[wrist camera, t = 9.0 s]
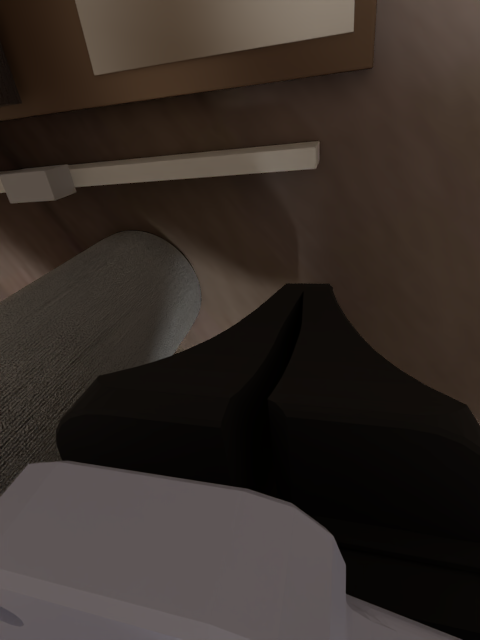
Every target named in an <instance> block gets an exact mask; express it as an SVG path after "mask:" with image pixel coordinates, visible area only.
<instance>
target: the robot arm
mask: <svg viewBox="0 0 480 640" xmlns="http://www.w3.org/2000/svg"><path fill="white" fill-rule="evenodd" d="M56 445H57V448H58V451H59V454H60V456H61V459H62V461H54V462H39V463H32V464H28V465H27V466H26V467H25V469H24V470H23V471H22V472H21V473H20V474H19V476H18V477H17V478H16V479H15V480H14V481H13V483H12V484H11V485H10V486H9V487H8V488H7V490H6V491H5V492H4V493H3V494H2V496H1V497H0V640H480V426H479V424H478V422H477V421H476V419H475V417H474V416H473V414H472V412H471V411H470V409H469V407H468V406H467V405H465V404H463V403H461V402H459V401H457V400H455V399H453V398H451V397H449V396H447V395H445V394H443V393H441V392H438V391H436V390H434V389H432V388H430V387H428V386H426V385H424V384H423V383H421V382H419V381H418V380H416V379H414V378H413V377H411V376H409V375H408V374H406V373H404V372H403V371H401V370H400V369H398V368H397V367H395V366H394V365H393V364H391V363H390V362H389V361H387V360H386V359H385V358H384V357H382V356H381V355H380V354H378V353H377V352H376V351H375V350H374V349H373V348H372V347H371V346H370V345H369V344H368V343H367V342H366V341H365V340H364V339H363V338H362V337H361V336H360V334H359V333H358V332H357V331H356V330H355V328H354V327H353V326H352V324H351V323H350V322H349V320H348V319H347V317H346V316H345V314H344V313H343V311H342V309H341V308H340V306H339V304H338V302H337V300H336V298H335V295H334V293H333V287H332V286H331V285H330V284H286V285H284V286H283V287H282V288H281V289H280V290H278V291H277V292H276V293H275V294H274V295H273V296H272V297H271V298H269V299H268V300H267V301H266V302H265V303H263V304H262V305H261V306H260V307H259V308H257V309H256V310H255V311H253V312H252V313H251V314H249V315H248V316H246V317H245V318H244V319H242V320H241V321H240V322H238V323H237V324H235V325H234V326H232V327H230V328H229V329H227V330H226V331H224V332H222V333H220V334H218V335H217V336H215V337H213V338H211V339H209V340H207V341H205V342H203V343H200V344H198V345H196V346H194V347H192V348H189V349H187V350H185V351H183V352H180V353H177V354H175V355H172V356H169V357H166V358H163V359H160V360H157V361H154V362H151V363H148V364H144V365H141V366H137V367H133V368H129V369H125V370H121V371H117V372H112V373H108V374H103V375H99V376H98V377H97V378H96V379H95V381H94V382H93V383H92V384H91V385H90V386H89V387H88V389H87V390H86V391H85V392H84V393H83V394H82V395H81V397H80V398H79V399H78V400H77V401H76V402H75V404H74V405H73V406H72V407H71V408H70V409H69V410H68V412H67V413H66V414H65V415H64V416H63V417H62V419H61V420H60V422H59V424H58V426H57V428H56Z"/></svg>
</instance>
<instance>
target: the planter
mask: <svg viewBox="0 0 480 640" xmlns="http://www.w3.org/2000/svg"><path fill="white" fill-rule="evenodd" d="M200 306H201V290H200V285H199V282H198V279H197V276H196V274H195V272H194V270H193V268H192V266H191V265H190V263H189V262H188V261H187V259H186V258H185V257H184V256H183V255H182V254H181V253H180V252H179V251H178V250H177V249H176V248H175V247H174V246H173V245H171V244H170V243H168V242H167V241H165V240H164V239H162V238H160V237H158V236H155V235H153V234H150V233H146V232H142V231H122V232H118V233H116V234H113V235H111V236H109V237H107V238H105V239H103V240H101V241H99V242H98V243H96V244H94V245H93V246H91V247H90V248H88V249H86V250H85V251H83V252H81V253H80V254H78V255H76V256H75V257H73V258H72V259H70V260H68V261H67V262H65V263H63V264H62V265H60V266H58V267H57V268H55V269H54V270H52V271H50V272H49V273H47V274H45V275H44V276H42V277H40V278H39V279H37V280H36V281H34V282H32V283H31V284H29V285H27V286H26V287H24V288H22V289H21V290H19V291H18V292H16V293H14V294H13V295H11V296H9V297H8V298H6V299H4V300H3V301H1V302H0V497H1V496H2V494H3V493H4V492H5V491H6V490H7V488H8V487H9V486H10V485H11V484H12V483H13V481H14V480H15V479H16V478H17V477H18V476H19V474H20V473H21V472H22V471H23V470H24V469H25V467H26V466H27V465H28V464H32V463H39V462H54V461H62V459H61V456H60V454H59V451H58V448H57V445H56V428H57V426H58V424H59V422H60V420H61V419H62V417H63V416H64V415H65V414H66V413H67V412H68V410H69V409H70V408H71V407H72V406H73V405H74V404H75V402H76V401H77V400H78V399H79V398H80V397H81V395H82V394H83V393H84V392H85V391H86V390H87V389H88V387H89V386H90V385H91V384H92V383H93V382H94V381H95V379H96V378H97V377H98V376H99V375H103V374H108V373H112V372H117V371H121V370H125V369H129V368H133V367H137V366H141V365H144V364H148V363H151V362H154V361H157V360H160V359H163V358H166V357H169V356H172V355H173V354H174V352H175V351H176V349H177V348H178V346H179V345H180V343H181V342H182V340H183V339H184V337H185V336H186V334H187V333H188V331H189V330H190V328H191V327H192V325H193V323H194V321H195V319H196V318H197V316H198V313H199V310H200Z"/></svg>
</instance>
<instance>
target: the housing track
mask: <svg viewBox="0 0 480 640" xmlns="http://www.w3.org/2000/svg"><path fill="white" fill-rule="evenodd" d="M376 5H377V0H0V42H1V45H2V48H3V51H4V53H5V56H6V59H7V62H8V65H9V67H10V70H11V73H12V76H13V79H14V82H15V84H16V87H17V90H18V93H19V96H20V98H21V101H22V104H16V105H10V106H3V107H0V121H5V120H12V119H19V118H26V117H33V116H40V115H47V114H54V113H61V112H68V111H75V110H82V109H89V108H96V107H103V106H110V105H117V104H124V103H131V102H138V101H146V100H153V99H160V98H167V97H174V96H181V95H188V94H195V93H202V92H209V91H216V90H223V89H230V88H237V87H244V86H251V85H258V84H265V83H272V82H279V81H286V80H293V79H300V78H307V77H314V76H321V75H328V74H335V73H342V72H349V71H356V70H363V69H370V68H372V67H373V58H374V40H375V23H376Z"/></svg>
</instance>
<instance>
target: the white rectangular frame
mask: <svg viewBox="0 0 480 640" xmlns="http://www.w3.org/2000/svg"><path fill="white" fill-rule="evenodd" d="M319 161H320V143H319V141H313V142H302V143H292V144H281V145H271V146H261V147H250V148H240V149H229V150H219V151H209V152H198V153H188V154H177V155H167V156H157V157H146V158H136V159H125V160H115V161H105V162H94V163H84V164H73V165H68V164H66V165H56V166H46V167H35V168H25V169H20V170H11V171H0V193H6V194H7V197H8V199H9V201H10V203H24V202H40V201H55V200H58V199H60V198H63V197H66V196H68V195H71V194H73V193H76V189H75V187H84V186H97V185H110V184H123V183H136V182H149V181H163V180H176V179H189V178H202V177H215V176H228V175H241V174H254V173H267V172H280V171H293V170H306V169H316V168H317V165H318V163H319Z"/></svg>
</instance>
